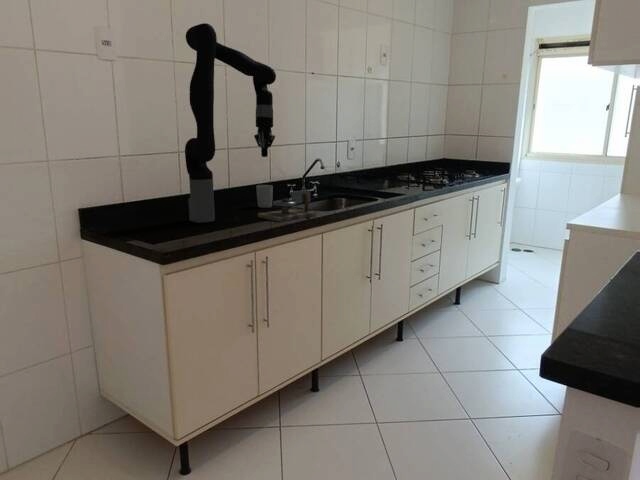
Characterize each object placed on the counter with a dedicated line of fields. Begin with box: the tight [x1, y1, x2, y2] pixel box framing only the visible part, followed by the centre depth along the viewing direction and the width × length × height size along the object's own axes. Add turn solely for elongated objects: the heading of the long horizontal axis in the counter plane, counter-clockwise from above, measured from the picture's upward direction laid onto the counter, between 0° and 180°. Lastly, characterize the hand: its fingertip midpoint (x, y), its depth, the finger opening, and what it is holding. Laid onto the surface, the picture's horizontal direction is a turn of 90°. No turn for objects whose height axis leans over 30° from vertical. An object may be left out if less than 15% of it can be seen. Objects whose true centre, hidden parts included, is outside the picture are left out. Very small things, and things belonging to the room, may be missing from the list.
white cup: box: [255, 184, 274, 209], centre depth 237 cm, size 8×8×10 cm
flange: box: [272, 189, 311, 207], centre depth 212 cm, size 18×10×5 cm, turn 131°
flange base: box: [257, 194, 317, 222], centre depth 211 cm, size 20×15×9 cm
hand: (264, 156), depth 217 cm, fingers closed
